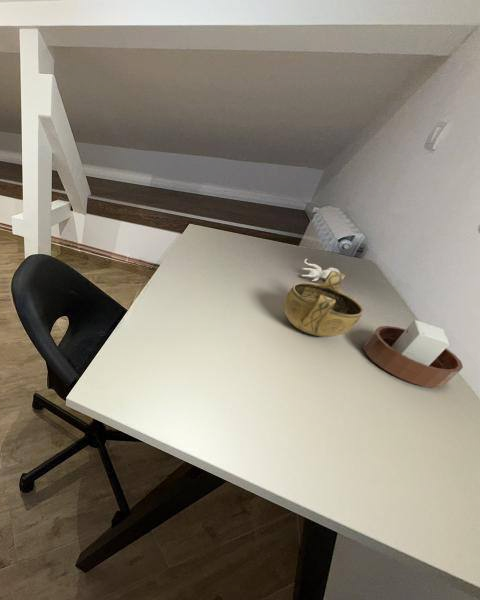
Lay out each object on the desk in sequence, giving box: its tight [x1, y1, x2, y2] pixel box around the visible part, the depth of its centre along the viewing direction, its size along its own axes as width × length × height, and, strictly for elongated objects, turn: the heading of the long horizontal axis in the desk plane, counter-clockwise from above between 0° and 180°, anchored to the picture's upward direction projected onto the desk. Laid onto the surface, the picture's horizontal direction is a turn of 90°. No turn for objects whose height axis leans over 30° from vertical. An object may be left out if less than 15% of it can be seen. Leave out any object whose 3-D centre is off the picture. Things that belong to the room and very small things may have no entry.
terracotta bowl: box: [362, 325, 464, 389], centre depth 79 cm, size 17×17×6 cm
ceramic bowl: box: [283, 271, 364, 338], centre depth 87 cm, size 22×17×15 cm
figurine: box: [300, 258, 341, 282], centre depth 117 cm, size 8×9×12 cm
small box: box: [391, 319, 451, 366], centre depth 78 cm, size 8×6×10 cm
